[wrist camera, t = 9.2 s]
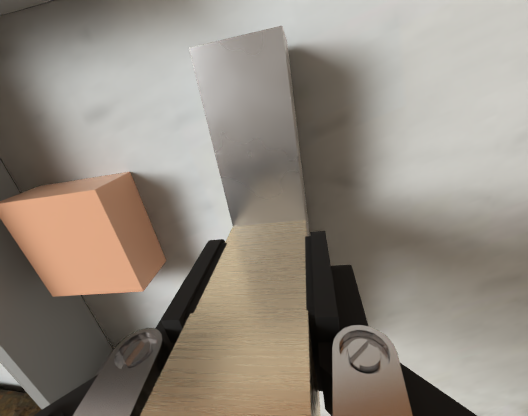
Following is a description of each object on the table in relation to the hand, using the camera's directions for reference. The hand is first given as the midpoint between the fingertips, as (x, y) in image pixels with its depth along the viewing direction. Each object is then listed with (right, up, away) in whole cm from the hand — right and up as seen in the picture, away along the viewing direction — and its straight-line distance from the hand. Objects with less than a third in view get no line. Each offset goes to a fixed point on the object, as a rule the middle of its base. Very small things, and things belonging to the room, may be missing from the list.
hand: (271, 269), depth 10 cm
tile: (-10, +2, +6) cm, 12 cm away
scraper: (+1, +2, +4) cm, 4 cm away
